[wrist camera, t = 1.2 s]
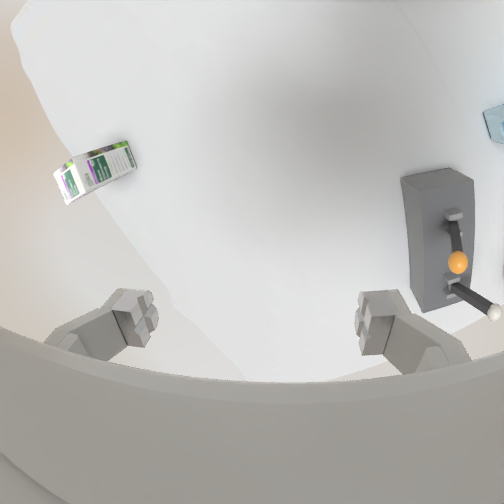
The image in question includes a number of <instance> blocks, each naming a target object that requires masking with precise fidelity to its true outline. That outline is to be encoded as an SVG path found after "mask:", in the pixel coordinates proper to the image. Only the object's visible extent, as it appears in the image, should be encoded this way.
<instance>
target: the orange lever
mask: <svg viewBox="0 0 504 504" xmlns="http://www.w3.org/2000/svg"><path fill="white" fill-rule="evenodd" d="M449 231H450V241H451V252H452V254H451V255H450V257H449V260H448V266H449V268H450V270H451V271H452V272H453V273H455V274H461V273H463V272H464V271H465V270H466V268H467V266H468V259H467V256H466V255H465V254H464V253H463V248H462V242H461V236H460V230H459V225H458V221H456V220H452V221H449Z"/></svg>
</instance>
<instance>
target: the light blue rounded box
mask: <svg viewBox="0 0 504 504" xmlns="http://www.w3.org/2000/svg"><path fill="white" fill-rule="evenodd" d="M484 116H485V119H486V122H487V125H488V128H489V132H490V135H491V139H492V140H493V141H496V142H499V143H502V144H504V104H503V105H500V106H498V107H495V108H493V109H490V110H488V111H485V112H484Z"/></svg>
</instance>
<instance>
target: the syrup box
mask: <svg viewBox="0 0 504 504" xmlns="http://www.w3.org/2000/svg"><path fill="white" fill-rule="evenodd" d="M136 168H137V166H136V165H135V162H134V159H133V157H132V154H131V152H130V149H129V147H128V144H127V142H126V141H124V142H120V143H117V144H113V145H110V146H106V147H103V148H100V149H97V150H93V151H90V152H87V153H84V154H81V155H78V156H75V157H73V158H71V159H70V160H69V161H68V162H66V163H65V164H64V165H62V166H61V167H60V168H59V169H58V170H57V171H56V172H54V173H53V175H54V177H55V178H56V180H57V183H58V186H59V189H60V191H61V194H62V196H63V198H64V200H65V203H66V205H68V204H70V203H72V202H74V201H76V200H78V199H79V198H81V197H83V196H85V195H87V194H89V193H90V192H92V191H94V190H96V189H98V188H100V187H102V186H104V185H106V184H108V183H110V182H112V181H114V180H116V179H118V178H120V177H121V176H123V175H125V174H127V173H129V172H131V171H133V170H135V169H136Z"/></svg>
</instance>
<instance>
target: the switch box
mask: <svg viewBox="0 0 504 504" xmlns="http://www.w3.org/2000/svg"><path fill="white" fill-rule="evenodd" d="M400 180H401V186H402V192H403V199H404V206H405V214H406V223H407V234H408V246H409V262H410V288H411V290H412V292H413V294H414V296H415V298H416V300H417V302H418V304H419V306H420V308H421V311H422V313H426V312H429V311H432V310H436V309H439V308H442V307H445V306H448V305H451V304H454V303H457V302H460V301H463V299H461V298H460V297H458V296H457V295H455V294H454V293H452V292H450V291H449V290H448V285H449V284H452V283H455V282H459V283H461V284H462V285H464V286H466V287H467V288H469V289H470V283H471V275H472V265H473V253H474V235H475V198H474V180H473V179H471V178H469V177H467V176H465V175H463V174H461V173H459V172H457V171H455V170H453V169H451V168H445V169H440V170H435V171H430V172H425V173H421V174H416V175H411V176H406V177H402V178H400ZM452 220H456V221H458V225H459V230H460V236H461V242H462V248H463V253H464V254H465V255H466V256H467V259H468V266H467V268H466V270H465V271H464V272H463V273H461V274H455V273H453V272H452V271H451V270H450V268H449V266H448V260H449V257H450V255H451V254H452V252H451V241H450V231H449V221H452Z"/></svg>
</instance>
